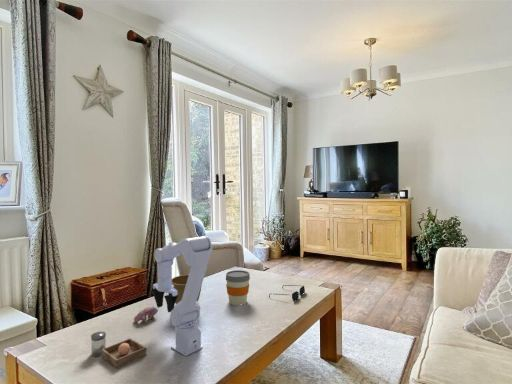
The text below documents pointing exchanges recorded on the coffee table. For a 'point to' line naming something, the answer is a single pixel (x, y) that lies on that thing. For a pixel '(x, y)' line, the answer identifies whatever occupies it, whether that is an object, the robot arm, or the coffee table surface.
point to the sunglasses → (295, 294)
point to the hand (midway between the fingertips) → (165, 309)
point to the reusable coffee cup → (237, 286)
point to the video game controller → (147, 311)
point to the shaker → (98, 343)
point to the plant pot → (181, 286)
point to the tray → (120, 360)
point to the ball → (123, 349)
